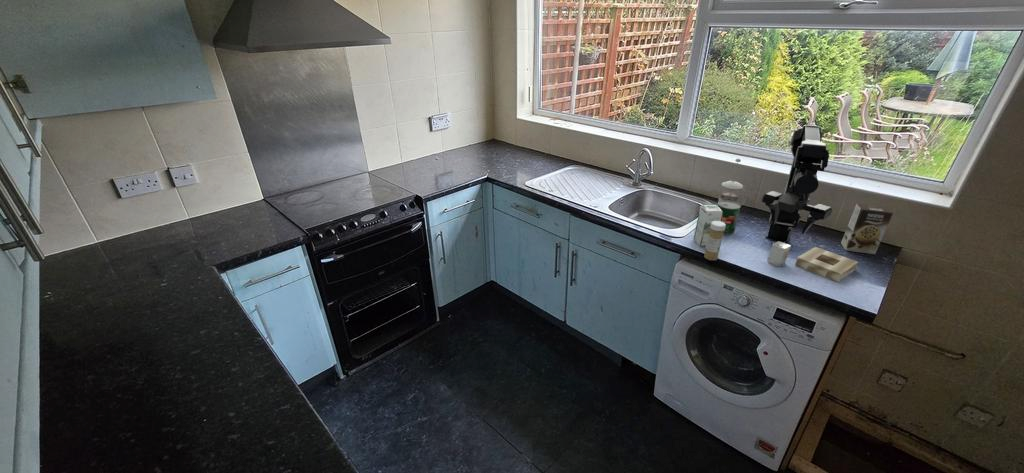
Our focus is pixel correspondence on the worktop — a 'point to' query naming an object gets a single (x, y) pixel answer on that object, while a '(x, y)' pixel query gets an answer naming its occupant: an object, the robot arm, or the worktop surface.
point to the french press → (731, 185)
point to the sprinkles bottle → (714, 240)
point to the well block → (826, 264)
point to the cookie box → (866, 228)
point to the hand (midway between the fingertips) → (788, 228)
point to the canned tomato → (729, 215)
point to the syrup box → (706, 222)
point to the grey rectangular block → (778, 253)
